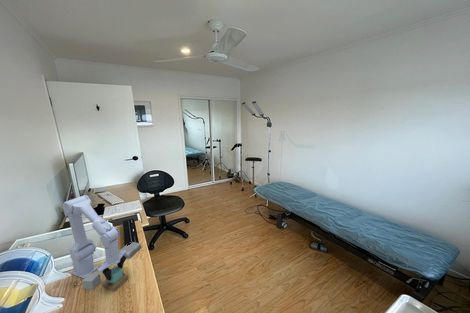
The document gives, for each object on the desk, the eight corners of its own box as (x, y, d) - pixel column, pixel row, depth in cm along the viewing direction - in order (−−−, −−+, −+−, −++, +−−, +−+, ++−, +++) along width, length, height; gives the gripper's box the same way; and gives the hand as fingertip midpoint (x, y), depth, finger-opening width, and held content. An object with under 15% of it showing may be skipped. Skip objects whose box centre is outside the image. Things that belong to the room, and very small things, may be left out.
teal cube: (107, 281, 96) (106, 273, 95) (115, 274, 101) (114, 265, 100) (114, 284, 95) (113, 275, 94) (122, 276, 99) (122, 268, 98)
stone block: (116, 260, 117) (130, 259, 115) (114, 253, 116) (128, 252, 114) (130, 248, 128) (142, 247, 126) (128, 241, 128) (141, 240, 126)
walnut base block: (102, 287, 96) (102, 282, 95) (116, 275, 103) (116, 271, 103) (114, 292, 94) (113, 287, 93) (128, 279, 101) (127, 275, 100)
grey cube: (83, 289, 95) (82, 280, 94) (91, 280, 99) (90, 272, 98) (93, 289, 94) (91, 281, 93) (100, 281, 99) (99, 273, 98)
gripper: (103, 264, 87) (107, 288, 89) (130, 244, 100) (132, 266, 103) (93, 260, 89) (96, 284, 92) (120, 241, 102) (122, 263, 105)
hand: (114, 274), depth 97 cm, fingers open, 6 cm apart
